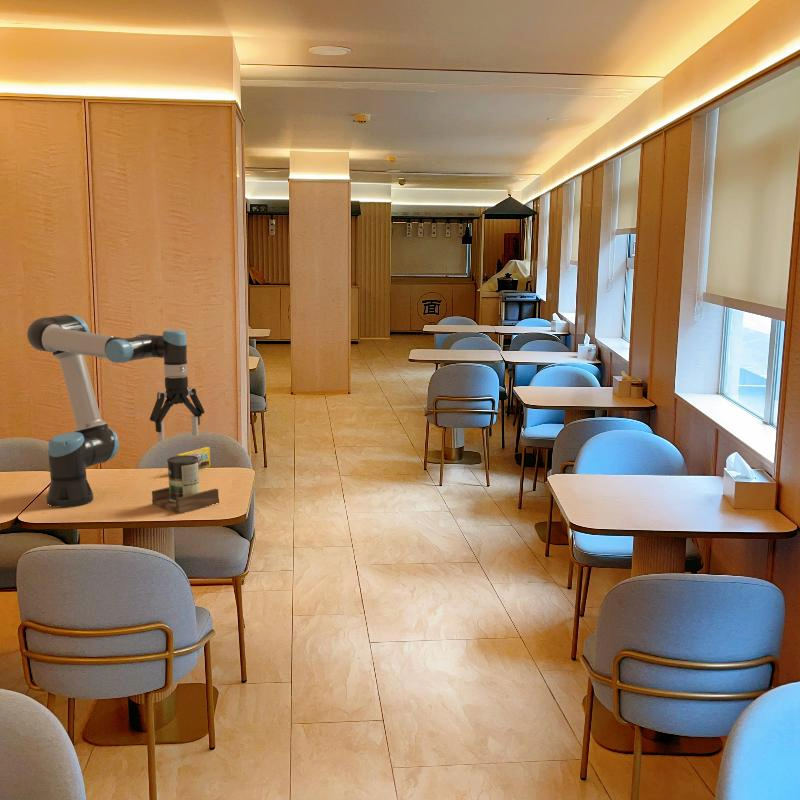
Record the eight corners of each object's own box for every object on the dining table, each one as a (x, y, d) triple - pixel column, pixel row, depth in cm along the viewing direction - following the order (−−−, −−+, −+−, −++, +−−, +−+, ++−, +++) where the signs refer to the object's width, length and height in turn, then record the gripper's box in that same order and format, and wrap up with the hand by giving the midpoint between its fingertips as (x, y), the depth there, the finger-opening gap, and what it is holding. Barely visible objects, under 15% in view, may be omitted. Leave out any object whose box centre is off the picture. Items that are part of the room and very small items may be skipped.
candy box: (180, 476, 348) (179, 455, 347) (176, 475, 349) (175, 454, 348) (211, 467, 362) (210, 447, 360) (207, 466, 363) (206, 446, 361)
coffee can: (167, 503, 303) (165, 462, 301) (171, 495, 313) (169, 455, 311) (198, 502, 304) (196, 461, 302) (201, 494, 315) (199, 454, 312)
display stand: (152, 505, 309) (151, 491, 308) (191, 495, 321) (190, 481, 320) (179, 514, 298) (179, 499, 297) (219, 503, 310) (218, 489, 309)
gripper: (150, 381, 291) (152, 445, 295) (213, 373, 309) (215, 434, 313) (137, 379, 296) (140, 442, 300) (200, 371, 314) (202, 430, 318)
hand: (178, 438), depth 306 cm, fingers open, 13 cm apart
